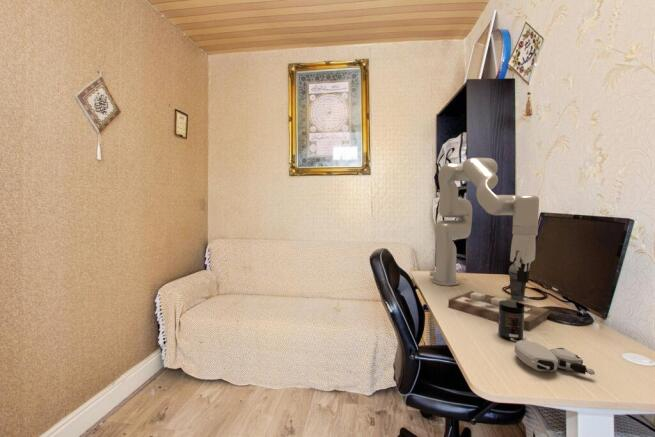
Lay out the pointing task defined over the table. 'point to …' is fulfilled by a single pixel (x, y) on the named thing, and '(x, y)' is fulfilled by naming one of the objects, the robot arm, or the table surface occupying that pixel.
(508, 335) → the supplement container
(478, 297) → the button
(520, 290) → the beverage cup
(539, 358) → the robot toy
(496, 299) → the middle button
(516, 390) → the table surface
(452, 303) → the button board
